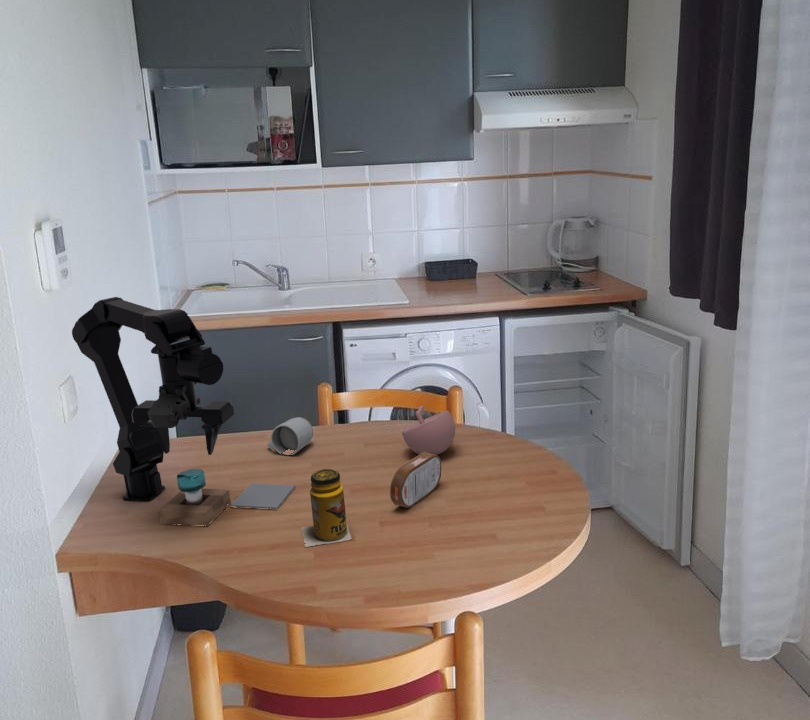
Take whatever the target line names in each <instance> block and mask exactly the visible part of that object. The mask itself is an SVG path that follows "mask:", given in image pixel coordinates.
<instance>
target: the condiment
mask: <svg viewBox="0 0 810 720" xmlns="http://www.w3.org/2000/svg"><path fill="white" fill-rule="evenodd" d="M310 482H311V483H310V486H311V488H310V491H309V496H310V504H311V514H312V515H311V517H312V523H313V525H309V526H307V525H306V526H302V527H300V528H301V533H302V537H305V538H304V539H303V544H304V543H306V544H304V548H309V547H315V546H321V545H327V544H333V543H339V542H341V543H342V542H344V541H345V542H347V541H349V540H352V539H353V538H352V535H351V533H350V529H349V525H348V523H347V522H348V521H347V513H346V504H345V494H344V487H343V485H342V483H341V475H340V473H339V471H337V470H335V469H330V468H329V469H328V468H324V469H319V470H317V471H314V473H312V474H311V476H310ZM303 534H304V535H303Z"/></svg>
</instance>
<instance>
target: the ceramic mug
mask: <svg viewBox="0 0 810 720" xmlns="http://www.w3.org/2000/svg"><path fill="white" fill-rule="evenodd" d="M270 435H271V436H270V441H269V442H268V443H267V447H268V449H269V448H270V449H269V450H273V449H274V450H275V451H276V452H277V453H279V454H280V455H282V454H283V452H285V451H286V450H288V449H290V450H294V451H295V450H296V451H295V452H293V453H291V454H289V455H292V456H294V455H295V454H297V453H299V452H300V451H301V450H302V449H303V448H304V447H306V446H307V445H309V444H310V442H311V441H312V439H313V437H314V428H313V426H312V424H311V423H310V421H308V420H307V419H306V418H303V417H300V416H299V417H298V416H297V417H293V418H290V419H288V420H286V421H284V422H283V423H281V424H278V425H276V426H275V428H273V430H272V431H271V434H270ZM281 453H282V454H281Z"/></svg>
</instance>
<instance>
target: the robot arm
mask: <svg viewBox="0 0 810 720" xmlns="http://www.w3.org/2000/svg"><path fill="white" fill-rule="evenodd" d="M123 326H124V327H127V328H129V329H133V330H135V331H139V332H142V334H144V336H145V339H146V340H147V341H149V342H150V343H152V344H154V346H153V347H152V348H151V350H150V353H151V354H154V355H157V356H158V364H159V369H160V370H159V371H160V376H161V385H160V386H159V387H158V399H156V400H152V399H151V400H145V401H143V402H141V403H140V404H138V401H137V399H136V396H135V394H134V391H133V389H132V385H131V384H130V381H129V378H128V376H127V374H126V371H125V368H124V365H123V363H122V361H121V358H120V355H119V352H120V351H119V350H120V347H121V346H120V345H121V341H122V338H121V335H120V330H121V329H122V327H123ZM71 335H72V339H73V340H74V342H75V343H76V345H77V347H78V349H79V351H80V353H81V354H83V355H84V356H85V357H87V358H88V359H89V360H90V361H91V362H93V363H94V366H95V369H96V371H97V373H98V375H99V378H100V381H101V382H102V386H103V387H104V388H103V389H104V391H105V394H106V396H107V399H108V401H109V403H110V406H111V409H112V411H113V414H114V416H115V419H116V421H117V424H118V426H119V430H118V435H117V440H116V444H117V448H118V451H119V452H118V453H117V456H116V457H115V459H114V460H113V462H112V465H113V468H114V471H115V473H117V474H118V475H122V476H123V480H124V485H125V490H126V494H125V495H124V496H123V497H122V499H123V501H124V500H125V501H142V502H150V501H151V500H153V499H154V498H155V497H157V496H158V495H159V494H160V493H161V492H163V491H164V490H165V489H166V485H163V484H162V479H161V478H162V477H161V472H159V469H158V465H159V464H162V463H163V462H164V454H166V455H167V454H168V453H170V449H171V447H170V446H171V445H170V442H171V441H170V431H169V429H173V428H175V427H176V426H178V425H179V421H180V420H181V421H186V420H187V419H188V418H201V421H202V423H203V425H201V429H202V430H203V431H204V433H205V444H206V450H207V454H208V456H211V455H212V454H213V453H214V450H215V449H214V448H215V445H216V443H217V440H218V436H219V432H220V430H221V427H222V425H224V424H225V423H226V422H227V421H229V419H231V418H232V417H233V416H234V415H235V410H234V406H233V405H232V403H231V402H230V401H215V400H213V401H212V402H210V403H209V404H207V405H206V406H199V405H200V404H201V398H200V397H197V394H196V393H197V392H196V387H195V385H197V384H201V385H206V386H212V385H215V384H217V383H218V382H219V380H220V379H221V378H222V376H223V373H224V363H223V361H222V360H221V357H220V356H218V355H217V354H215V353H213V349H212V347H211V346H206V342H205V340H204V339H203V334H202V333H200V331H199V330H198V328H197V327H196V325H195V324H194V322H193V321H192V318H191V317H190V316H189V315H188V313H187V312H186V311H185V310H183V309H179V308H178V309H176V308H168V309H153V308H150V307H147V306H143V305H142V304H141V305H140V304H137V303H134V302H131V301H127V300H125V299H123V298H122V297H117V296H113V297H109V298H104V299H99V300H98V301H96V302H95V303H94V304H93V306H92V308H90V309H89V310H87V311H86V312H85V313H84V314H83V315H81V316H80V317H79V318H78V319H77V320H76V321H75V323H74V325H73V327H72V330H71Z"/></svg>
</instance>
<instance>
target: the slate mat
mask: <svg viewBox="0 0 810 720" xmlns="http://www.w3.org/2000/svg"><path fill="white" fill-rule="evenodd" d="M294 488H295V489H296V485H293V484H269V483H268V484H266V483H250V484H249V485H248V486H247V487H246V489H244V490H243V492H241V493H240V494H239V496H238V497H237V498H236V499H235V500H234V501H233V502H231V503H230V507H231V506H236V507H251V508H268V509H270V508H271V509H277V508H278V507H279V506H280V505H281V504H282V502H283V501H284V500H285V499H286V498H287V497H288V496H289V497H290V495H291V494H292V493H293V492H294V490H295V489H294ZM292 491H293V492H292ZM291 492H292V493H291ZM290 493H291V494H290ZM289 494H290V495H289ZM289 497H288V498H289ZM288 498H287V499H288ZM287 499H286V500H287ZM286 500H285V501H286ZM285 501H284V502H285ZM282 505H283V504H282ZM282 505H281V506H282ZM281 506H280V507H281ZM280 507H279V508H280Z"/></svg>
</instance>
